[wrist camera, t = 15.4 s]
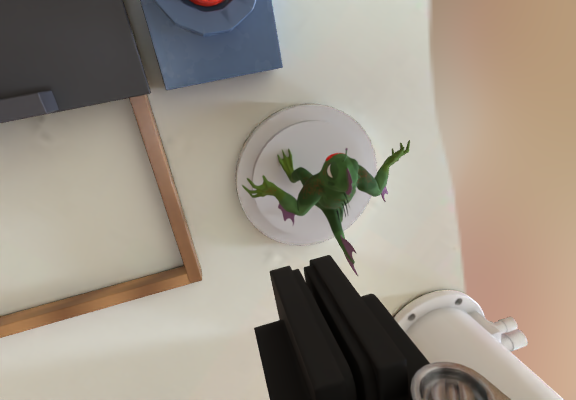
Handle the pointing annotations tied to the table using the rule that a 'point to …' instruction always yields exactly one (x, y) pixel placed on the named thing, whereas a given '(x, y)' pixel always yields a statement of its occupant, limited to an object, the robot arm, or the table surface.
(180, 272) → the brown wooden rectangular frame
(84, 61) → the lid
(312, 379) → the robot arm
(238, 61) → the button box
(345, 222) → the monster figurine
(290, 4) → the table surface
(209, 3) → the red push button
